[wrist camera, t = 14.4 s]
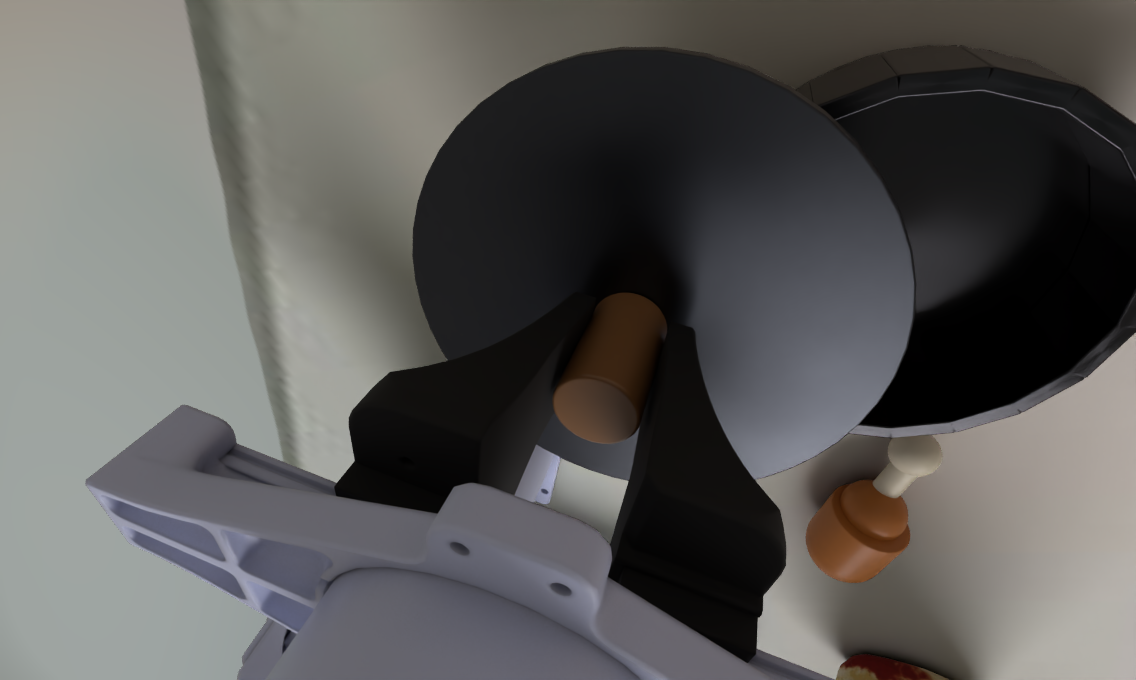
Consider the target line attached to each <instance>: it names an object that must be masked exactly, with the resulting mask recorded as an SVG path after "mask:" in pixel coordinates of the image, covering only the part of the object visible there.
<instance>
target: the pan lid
mask: <svg viewBox="0 0 1136 680" xmlns="http://www.w3.org/2000/svg"><path fill="white" fill-rule="evenodd" d="M413 264H414V273H415V281H416V285H417V289H418V293H419V297H420V301H421V305H422V308H423V310H424V313H425V316H426V319H427V321H428V324H429V327H430V329H431V331H432V333H433V335H434V337H435V339H436V341H437V343H438V345H439V347H440V349H441V350H442V352H443V353H444V355H445V357H446V358H447V360H448V361H449V360H452V359H456V358H459V357H462V356H465V355H468V354H470V353H473V352H476V351H479V350H481V349H484V348H486V347H488V346H491V345H493V344H495V343H497V342H499V341H501V340H503V339H505V338H507V337H509V336H511V335H513V334H514V333H516V332H518V331H519V330H521V329H523V328H524V327H526V326H528V325H530V324H531V323H533V322H534V321H536V320H537V319H539V318H540V317H542V316H543V315H544V314H546V313H547V312H549V311H550V310H552V309H553V308H554V307H556V306H557V305H558V304H560V303H561V302H562V301H563V300H565V299H566V298H567V297H568V296H570V295H571V294H572V293H574V292H579V293H582V294H585V295H589V296H592V297H595V298H596V302H595V306H594V311H593V315H592V317H591V319H590V321H589V323H588V325H587V327H586V329H585V331H584V333H583V335H582V337H581V339H580V340H579V342H578V344H577V346H576V348H575V350H574V352H573V354H572V356H571V358H570V360H569V362H568V364H567V366H566V368H565V370H564V372H563V374H562V376H561V378H560V380H559V382H558V384H557V386H556V388H555V390H554V392H553V397H552V401H553V408H554V411H555V412H554V414H553V416H552V417H551V419H550V421H549V423H548V424H547V426H546V428H545V430H544V431H543V433H542V435H541V437H540V439H539V441H538V443H537V445H538V446H540V447H541V448H543V449H545V450H547V451H549V452H551V453H553V454H555V455H556V456H558V457H560V458H562V459H564V460H566V461H569V462H571V463H574V464H576V465H579V466H581V467H584V468H586V469H589V470H592V471H595V472H598V473H601V474H604V475H607V476H611V477H614V478H619V479H623V480H628V481H629V478H630V474H631V470H632V465H633V460H634V454H635V449H636V443H637V438H638V433H639V427H640V423H641V420H642V416H643V413H644V409H645V406H646V403H647V399H648V396H649V392H650V389H651V386H652V382H653V379H654V375H655V372H656V368H657V365H658V361H659V358H660V354H661V351H662V348H663V344H664V341H665V338H666V336H667V333H668V330H669V327H670V324H671V321H672V322H676V323H679V324H682V325H685V326H688V327H692V328H693V329H694V331H695V332H696V346H697V352H698V357H699V362H700V367H701V371H702V374H703V378H704V382H705V385H706V388H707V391H708V394H709V397H710V400H711V403H712V405H713V408H714V410H715V413H716V415H717V418H718V420H719V422H720V424H721V426H722V428H723V430H724V432H725V434H726V436H727V438H728V440H729V442H730V444H731V445H732V447H733V449H734V450H735V452H736V453H737V455H738V457H739V458H740V460H741V461H742V463H743V465H744V466H745V467H746V469H747V470H748V472H749V473H750V474H751V476H752V477H753V478H754V480H755V479H760V478H764V477H767V476H770V475H773V474H776V473H779V472H782V471H785V470H787V469H790V468H792V467H795V466H797V465H799V464H801V463H803V462H805V461H807V460H809V459H811V458H813V457H815V456H817V455H818V454H820V453H822V452H823V451H825V450H826V449H828V448H829V447H831V446H832V445H834V444H836V443H837V442H839V441H840V440H841V439H842V438H843V437H845V436H846V435H847V434H848V433H849V432H850V431H852V430H853V429H854V428H855V427H856V426H857V425H859V424H860V423H861V422H862V421H863V419H864V418H865V417H866V416H867V415H868V414H869V413H870V411H871V410H872V409H873V408H874V407H875V406H876V405H877V404H878V402H879V401H880V400H881V398H882V396H883V395H884V393H885V392H886V390H887V389H888V387H889V385H890V384H891V382H892V381H893V379H894V378H895V376H896V374H897V371H898V369H899V367H900V364H901V362H902V360H903V357H904V355H905V353H906V350H907V348H908V344H909V339H910V335H911V331H912V327H913V322H914V318H915V304H916V285H917V283H916V275H915V267H914V260H913V252H912V247H911V244H910V240H909V237H908V234H907V231H906V228H905V225H904V221H903V218H902V215H901V212H900V210H899V207H898V205H897V203H896V201H895V200H894V198H893V196H892V194H891V192H890V190H889V188H888V186H887V184H886V182H885V180H884V178H883V176H882V175H881V173H880V171H879V170H878V168H877V167H876V166H875V165H874V163H873V162H872V161H871V159H870V158H869V157H868V155H867V154H866V153H865V151H864V150H863V149H862V147H861V146H860V145H859V143H858V142H857V141H856V140H855V139H854V138H853V137H852V136H851V135H850V134H849V133H848V132H847V131H846V130H845V129H844V128H843V127H842V126H841V125H840V124H839V123H838V122H837V121H836V120H834V119H833V118H832V117H831V116H830V115H829V114H828V113H827V112H826V111H825V110H824V109H822V108H821V107H819V106H818V105H816V104H815V103H813V102H812V101H810V100H809V99H808V98H806V97H805V96H803V95H802V94H800V93H799V92H797V91H796V90H795V89H793V88H792V87H790V86H789V85H786V84H784V83H782V82H780V81H778V80H776V79H774V78H772V77H770V76H768V75H766V74H764V73H762V72H760V71H758V70H755V69H753V68H751V67H749V66H746V65H743V64H739V63H736V62H733V61H730V60H727V59H723V58H720V57H717V56H714V55H710V54H707V53H700V52H694V51H687V50H681V49H674V48H668V47H618V48H612V49H605V50H598V51H592V52H585V53H581V54H577V55H574V56H571V57H568V58H564V59H561V60H558V61H555V62H552V63H548V64H546V65H544V66H542V67H539V68H537V69H535V70H533V71H531V72H529V73H527V74H525V75H523V76H521V77H519V78H517V79H515V80H513V81H511V82H509V83H508V84H506V85H505V86H503V87H502V88H501V89H499V90H498V91H496V92H495V93H494V94H492V95H491V96H489V97H488V98H487V99H485V100H484V101H482V102H481V103H480V104H479V105H478V106H477V107H476V108H475V109H474V110H473V111H472V112H471V113H469V114H468V115H467V116H466V117H465V118H464V119H463V120H462V121H461V122H460V123H459V124H458V125H457V127H456V128H455V129H454V131H453V132H452V133H451V135H450V136H449V138H448V139H447V140H446V142H445V143H444V144H443V146H442V147H441V148H440V150H439V152H438V154H437V156H436V158H435V160H434V162H433V163H432V165H431V167H430V169H429V171H428V173H427V175H426V178H425V181H424V184H423V187H422V190H421V193H420V197H419V200H418V203H417V209H416V215H415V221H414V227H413Z"/></svg>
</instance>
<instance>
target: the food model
mask: <svg viewBox="0 0 1136 680" xmlns="http://www.w3.org/2000/svg"><path fill="white" fill-rule="evenodd" d="M836 680H949V679H947V678H945V677H942V676H940V675H938V674H935V673H933V672H930V671H928V670H926V669H923V668H920V667H916V666H913V665H910V664H906V663H903V662H899V661H895V660H892V659H888V658H884V657H879V656H874V655H869V654H862V655H855V656H852V657H850V658H849V659H848V660H847V661H846V662H844V663H843V664H842V665H841V666H840V668H839V670H838V674H837V678H836Z"/></svg>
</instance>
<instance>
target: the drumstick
mask: <svg viewBox="0 0 1136 680" xmlns="http://www.w3.org/2000/svg"><path fill="white" fill-rule="evenodd" d="M888 456H889V459H890V461H891V462H890V463H889V464H888V465H887V466H886V467H885V469H884V470H883V471H882V472H881V473H880V474H879V475H878V476H877V478H876V479H875V480H860V481H856V482H854V483H852V484H847V485H843V486H840V487H838V488H837V489H836V490H835V491H834V492H833V493H832V495H831V496H830V497H829V498H828V499H827V501H826V502H825V503H824V504H823V506H822V507H821V508H820V509H819V510H818V512H817V513H816V514H815V515H814V517H813V518H812V519H811V521H810V522H809V524H808V527H807V530H806V545H807V549H808V552H809V554H810V556H811V558H812V560H813V561H814V563H815V564H816V565H817V566H818V568H819V569H820V570H822V571H823V572H824V573H825V574H827V575H828V576H830V577H832V578H834V579H836V580H839V581H842V582H848V583H859V582H864V581H867V580H869V579H871V578H873V577H874V576H876V575H877V574H878V573H879V572H880V571H881V570H882V569H884V568H885V567H886V566H887V565H888V564H889V563H890V562H891V561H892V560H893V559H895V558H896V557H897V556H898V555H899V554H900V553H901V552H902V551H903V550H904V549H905V548H906V547H907V546H908V544H909V541H910V530H909V526H908V524H907V523H908V509H907V506H906V504H905V501H904V500H903V498H902V497H901V494H902V493H903V492H904V491H905V490H906V489H907V488H908V487H909V486H910V485H911V484H912V483H913V481H914V480H915V479H916V478H917V477H921V476H926V475H929V474H931V473H933V472H934V471H936V470H937V469H938V467H939V466H940V464H941V461H942V450H941V447H940V445H939V444H938V442H937V441H936V440H935V439H934V438H933V437H932V436H930V435H921V436H910V437H899V438H892V439H891V441H890V443H889V445H888Z"/></svg>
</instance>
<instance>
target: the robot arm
mask: <svg viewBox="0 0 1136 680" xmlns="http://www.w3.org/2000/svg"><path fill="white" fill-rule="evenodd" d="M595 302H596V298H595V297H592V296H589V295H585V294H582V293H579V292H574V293H572V294H571V295H570V296H568V297H567V298H566V299H565V300H563V301H562V302H561V303H560V304H558V305H557V306H556V307H554V308H553V309H552V310H550V311H549V312H547V313H546V314H544V315H543V316H542V317H540V318H539V319H537V320H536V321H534V322H533V323H531V324H530V325H528V326H526V327H524V328H523V329H521V330H519V331H518V332H516V333H514V334H513V335H511V336H509V337H507V338H505V339H503V340H501V341H499V342H497V343H495V344H493V345H491V346H488V347H486V348H484V349H481V350H479V351H476V352H473V353H470V354H468V355H465V356H462V357H459V358H456V359H452V360H449V361H445V362H441V363H437V364H433V365H429V366H424V367H418V368H412V369H406V370H400V371H393V372H389V373H388V374H387V375H386V376H385V377H384V378H383V379H382V380H380V381H379V382H378V383H377V384H376V385H375V386H374V387H373V388H372V389H371V390H370V391H369V392H368V393H367V395H366V396H365V397H364V398H363V399H362V400H361V401H360V402H359V403H358V404H357V406H356V407H355V408H354V409H353V410H352V412H351V414H350V416H349V430H350V436H351V442H352V447H353V453H354V458H355V461H354V463H353V464H352V465H351V466H350V468H349V469H348V470H347V471H346V473H345V474H344V475H343V476H342V477H341V479H340V480H339V481H338V482H337V483H335V482H333V481H330V480H328V479H325V478H323V477H320V476H318V475H315V474H313V473H310V472H308V471H305V470H303V469H300V468H297V467H295V466H292V465H290V464H287V463H285V462H282V461H280V460H277V459H275V458H272V457H269V456H267V455H265V454H262V453H259V452H257V451H254V450H252V449H249V448H247V447H244V446H241V445H239V444H237V443H236V438H235V434H234V431H233V429H232V428H231V426H230V425H229V424H228V423H227V422H225V421H224V420H222V419H220V418H219V417H216V416H214V415H211V414H208V413H206V412H203V411H201V410H198V409H196V408H193V407H190V406H188V405H181V406H180V407H179V408H177V409H176V410H175V411H173V412H172V413H171V414H170V415H168V416H167V417H166V418H165V419H163V420H162V421H161V422H159V423H158V424H157V425H156V426H154V427H153V428H152V429H150V430H149V431H148V432H147V433H145V434H144V435H143V436H141V437H140V438H139V439H138V440H136V441H135V442H134V443H132V444H131V445H130V446H129V447H127V448H126V449H125V450H123V451H122V452H121V453H120V454H119V455H117V456H116V457H115V458H113V459H112V460H111V461H110V462H108V463H107V464H106V465H104V466H103V467H102V468H100V469H99V470H98V471H97V472H95V473H94V474H93V475H91V476H90V477H89V478H88V479H86V486H87V487H88V488H89V490H90V491H91V492H92V494H93V495H94V497H95V498H96V499H97V501H98V502H99V503H100V505H101V506H102V507H103V509H104V510H105V511H106V513H107V514H108V516H109V517H110V518H111V520H112V521H113V522H114V524H115V525H116V526H117V528H118V529H119V530H120V532H121V533H122V535H123V536H124V537H125V539H126V540H127V541H128V542H129V543H130V544H131V545H133V546H136V547H138V548H140V549H142V550H144V551H147V552H149V553H151V554H153V555H155V556H157V557H159V558H161V559H164V560H166V561H168V562H169V563H171V564H174V565H175V566H177V567H179V568H181V569H183V570H185V571H187V572H189V573H191V574H193V575H195V576H196V577H198V578H200V579H202V580H204V581H205V582H207V583H209V584H211V585H213V586H214V587H216V588H218V589H220V590H222V591H223V592H225V593H227V594H228V595H230V596H232V597H234V598H235V599H237V600H239V601H241V602H242V603H244V604H246V605H248V606H249V607H251V608H253V609H254V610H256V611H258V612H260V613H262V614H263V615H265V616H267V621H266V623H265V624H264V626H263V627H262V629H261V630H260V631H259V633H258V634H257V636H256V637H255V639H254V640H253V641H252V643H251V644H250V646H249V647H248V649H247V650H246V652H245V653H244V655H243V656H242V662H243V666H242V667H241V669H240V670H239V673H238V676H237V680H834V679H832V678H829V677H826V676H824V675H821V674H819V673H816V672H814V671H811V670H809V669H806V668H804V667H801V666H799V665H796V664H794V663H791V662H788V661H786V660H783V659H781V658H778V657H776V656H773V655H771V654H768V653H766V652H763V651H761V650H758V649H756V647H757V621H758V617H760V616H761V615H762V611H763V595H764V594H765V593H766V592H767V591H768V590H769V588H770V587H771V586H772V585H773V584H774V582H775V581H776V580H777V579H778V578H779V576H780V575H781V574H782V572H783V570H784V568H785V566H786V541H785V534H784V527H783V522H782V517H781V512H780V509H779V508H778V507H777V506H776V505H775V503H774V502H773V501H772V500H771V499H770V498H769V496H768V495H767V494H766V493H765V492H764V491H763V490H762V488H761V487H760V486H759V485H758V484H757V482H756V481H755V480H754V478H753V477H752V476H751V474H750V473H749V472H748V470H747V469H746V467H745V466H744V465H743V463H742V461H741V460H740V458H739V457H738V455H737V453H736V452H735V450H734V449H733V447H732V445H731V444H730V442H729V440H728V438H727V436H726V434H725V432H724V430H723V428H722V426H721V424H720V422H719V420H718V418H717V415H716V413H715V410H714V408H713V405H712V403H711V400H710V397H709V394H708V391H707V388H706V385H705V382H704V378H703V374H702V371H701V367H700V362H699V357H698V352H697V346H696V332H695V331H694V329H693V328H692V327H688V326H685V325H682V324H679V323H676V322H672V321H671V324H670V327H669V330H668V333H667V336H666V338H665V341H664V344H663V348H662V351H661V354H660V358H659V361H658V365H657V368H656V372H655V375H654V379H653V382H652V386H651V389H650V392H649V396H648V399H647V403H646V406H645V409H644V413H643V416H642V420H641V423H640V427H639V433H638V438H637V443H636V449H635V454H634V460H633V465H632V470H631V474H630V478H629V482H628V486H627V489H626V492H625V496H624V499H623V503H622V506H621V509H620V513H619V516H618V519H617V523H616V526H615V529H614V533H613V536H612V539H611V543H610V545H609V543H608V542H607V541H606V540H605V539H604V537H603V536H602V535H601V534H600V533H599V532H598V530H596V529H595V528H593V527H591V526H589V525H587V524H586V523H584V522H582V521H580V520H578V519H575V518H573V517H570V516H568V515H565V514H562V513H560V512H557V511H554V510H552V509H549V508H546V507H544V506H541V505H538V504H536V503H534V501H537V502H539V503H542V504H548V503H549V502H550V500H551V497H552V493H553V489H554V485H555V480H556V476H557V472H558V468H559V463H560V459H561V458H560V457H558V456H556V455H555V454H553V453H551V452H549V451H547V450H545V449H543V448H541V447H540V446H538V445H537V443H538V441H539V439H540V437H541V435H542V433H543V431H544V430H545V428H546V426H547V424H548V423H549V421H550V419H551V417H552V416H553V414H554V412H555V411H554V408H553V401H552V397H553V392H554V390H555V388H556V386H557V384H558V382H559V380H560V378H561V376H562V374H563V372H564V370H565V368H566V366H567V364H568V362H569V360H570V358H571V356H572V354H573V352H574V350H575V348H576V346H577V344H578V342H579V340H580V339H581V337H582V335H583V333H584V331H585V329H586V327H587V325H588V323H589V321H590V319H591V317H592V315H593V311H594V306H595Z"/></svg>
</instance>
